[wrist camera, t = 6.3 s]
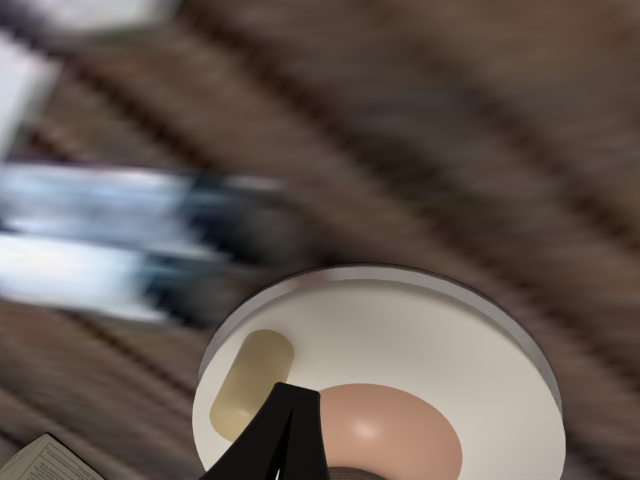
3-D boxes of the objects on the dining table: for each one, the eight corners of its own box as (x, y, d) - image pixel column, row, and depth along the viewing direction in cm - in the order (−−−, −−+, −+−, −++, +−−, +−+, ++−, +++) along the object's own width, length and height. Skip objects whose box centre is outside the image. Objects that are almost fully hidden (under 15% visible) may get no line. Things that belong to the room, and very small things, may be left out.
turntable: (414, 201, 17) (429, 262, 12) (619, 474, 21) (696, 607, 16) (139, 387, 23) (70, 480, 18) (339, 570, 27) (330, 687, 22)
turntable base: (631, 318, 18) (638, 324, 18) (481, 565, 26) (483, 574, 26) (214, 221, 19) (210, 225, 19) (190, 489, 27) (187, 496, 26)
